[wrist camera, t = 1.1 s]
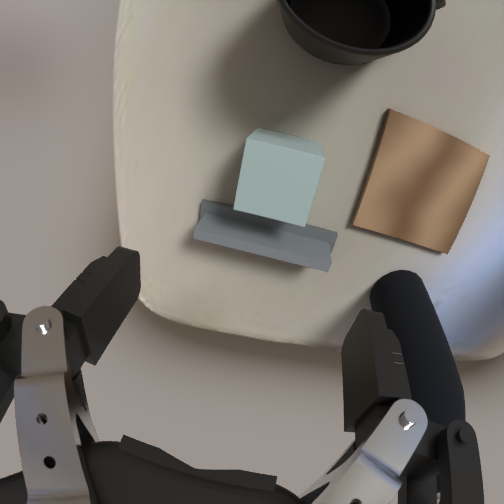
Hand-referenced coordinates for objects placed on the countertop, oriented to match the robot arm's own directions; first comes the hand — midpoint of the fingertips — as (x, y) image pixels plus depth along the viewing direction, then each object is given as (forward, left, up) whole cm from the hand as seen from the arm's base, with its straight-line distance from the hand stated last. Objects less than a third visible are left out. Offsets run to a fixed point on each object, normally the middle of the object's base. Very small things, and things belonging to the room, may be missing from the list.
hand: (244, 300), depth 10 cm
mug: (-3, -15, -18) cm, 24 cm away
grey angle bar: (0, +7, -18) cm, 19 cm away
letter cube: (0, 0, -18) cm, 18 cm away
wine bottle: (-16, +10, -18) cm, 26 cm away
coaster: (-13, -2, -18) cm, 22 cm away
